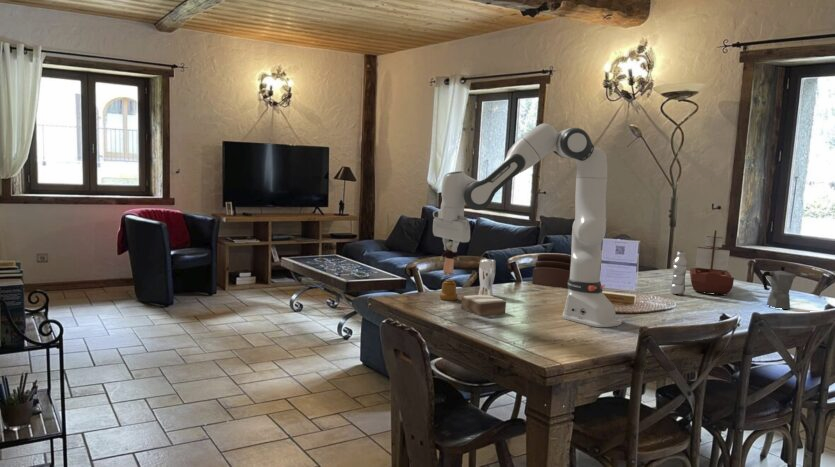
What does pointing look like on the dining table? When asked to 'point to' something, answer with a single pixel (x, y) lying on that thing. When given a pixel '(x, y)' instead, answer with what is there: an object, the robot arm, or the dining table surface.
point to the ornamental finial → (448, 291)
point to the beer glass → (486, 276)
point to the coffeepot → (779, 288)
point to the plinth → (483, 305)
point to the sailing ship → (712, 268)
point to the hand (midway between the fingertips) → (450, 251)
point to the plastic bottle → (679, 273)
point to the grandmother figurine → (449, 259)
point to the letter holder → (552, 270)
